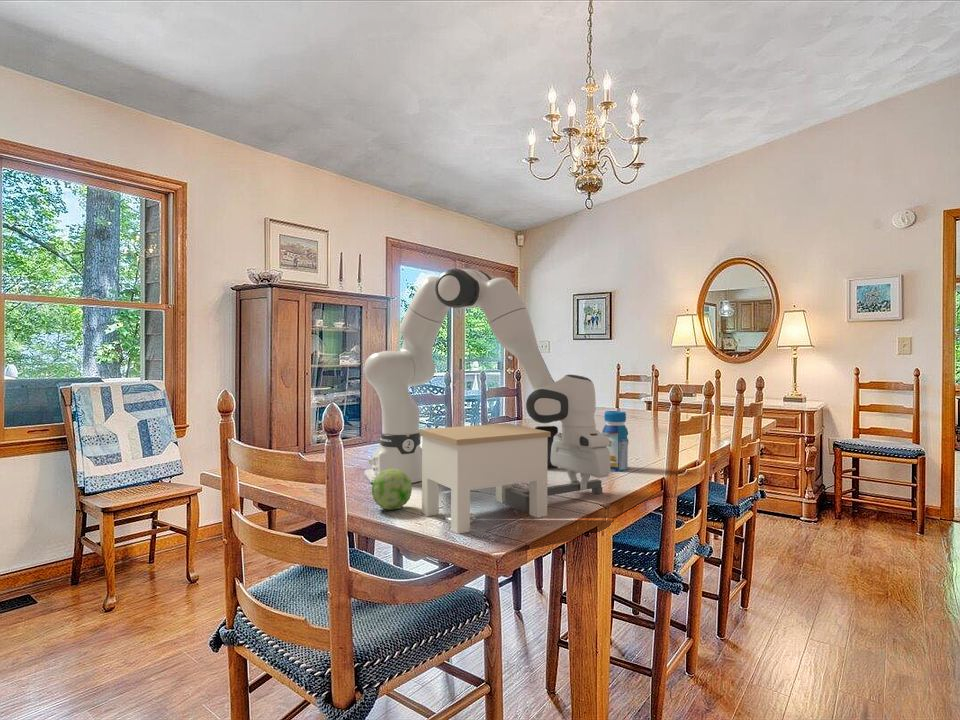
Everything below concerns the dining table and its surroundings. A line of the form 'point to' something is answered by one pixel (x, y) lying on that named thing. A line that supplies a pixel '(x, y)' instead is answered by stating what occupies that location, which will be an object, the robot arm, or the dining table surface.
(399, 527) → the dining table surface
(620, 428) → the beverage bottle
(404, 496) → the decorative ball
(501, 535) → the dining table surface
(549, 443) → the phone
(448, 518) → the steel token
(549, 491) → the hoe scraper
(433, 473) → the white tan small table
